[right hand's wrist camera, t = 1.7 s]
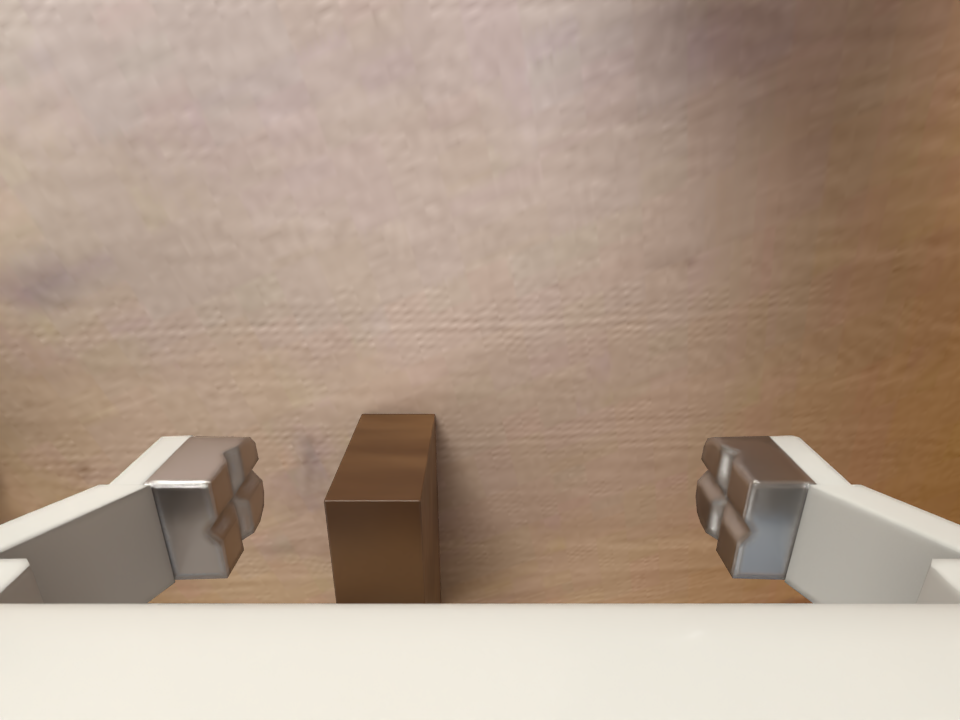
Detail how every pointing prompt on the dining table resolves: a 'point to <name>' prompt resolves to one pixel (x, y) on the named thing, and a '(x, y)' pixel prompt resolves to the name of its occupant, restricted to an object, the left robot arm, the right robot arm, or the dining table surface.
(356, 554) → the box
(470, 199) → the dining table surface
